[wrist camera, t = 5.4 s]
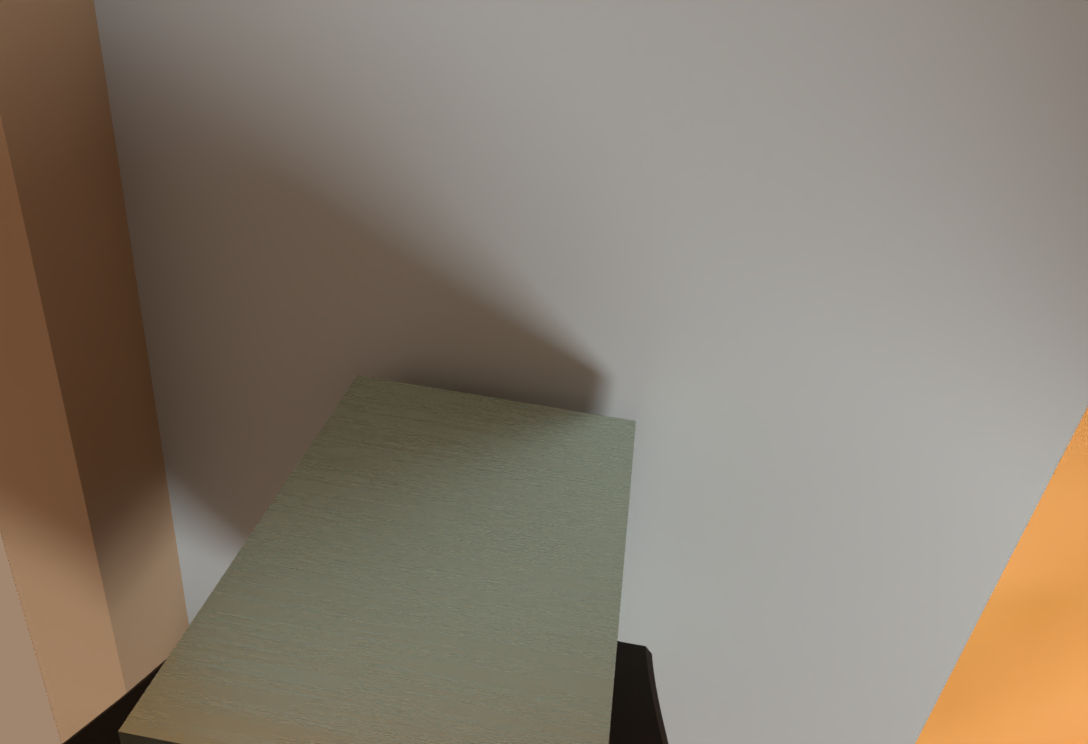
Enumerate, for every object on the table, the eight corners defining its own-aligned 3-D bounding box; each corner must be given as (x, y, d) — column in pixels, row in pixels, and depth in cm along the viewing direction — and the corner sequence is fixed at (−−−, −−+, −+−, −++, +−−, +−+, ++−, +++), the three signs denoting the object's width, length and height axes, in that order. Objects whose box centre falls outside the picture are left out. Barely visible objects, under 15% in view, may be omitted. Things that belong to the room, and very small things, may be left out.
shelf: (1527, -608, 7) (1982, -871, 5) (746, 1022, 23) (755, 1169, 20) (-118, -735, 8) (-470, -1006, 6) (196, 906, 24) (137, 1031, 21)
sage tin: (635, 420, 12) (601, 826, 7) (582, 707, 15) (529, 1141, 10) (347, 373, 12) (101, 728, 7) (350, 664, 15) (179, 1063, 10)
